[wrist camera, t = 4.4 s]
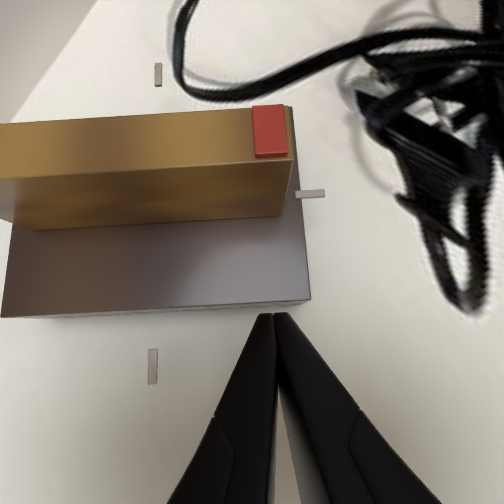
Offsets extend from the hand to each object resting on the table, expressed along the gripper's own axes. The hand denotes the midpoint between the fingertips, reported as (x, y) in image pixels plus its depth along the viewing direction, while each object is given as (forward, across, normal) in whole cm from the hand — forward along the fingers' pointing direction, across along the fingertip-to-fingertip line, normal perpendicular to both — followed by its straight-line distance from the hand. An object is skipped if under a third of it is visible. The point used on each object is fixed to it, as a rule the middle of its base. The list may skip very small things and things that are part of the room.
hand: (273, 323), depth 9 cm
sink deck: (+10, +5, +2) cm, 11 cm away
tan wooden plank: (+7, +5, -1) cm, 9 cm away
